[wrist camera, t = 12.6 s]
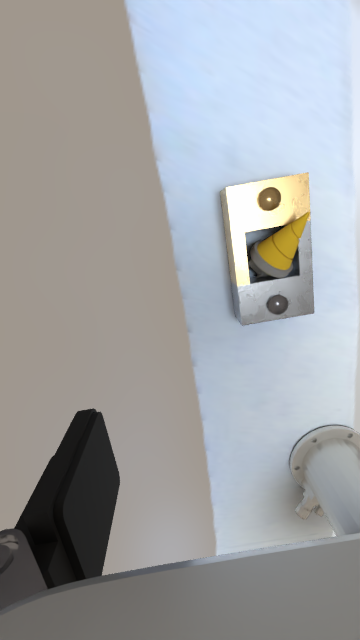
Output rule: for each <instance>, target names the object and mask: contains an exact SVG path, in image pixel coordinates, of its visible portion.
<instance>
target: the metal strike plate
mask: <svg viewBox="0 0 360 640" xmlns="http://www.w3.org/2000/svg"><path fill="white" fill-rule="evenodd" d="M220 195H221V203H222V211H223V220H224V228H225V236H226V244H227V253H228V261H229V269H230V277H231V285H232V294H233V302H234V310H235V317H236V318H237V320H238V321H239V322H240V324H241V325H242V326H243V325H249V324H255V323H260V322H266V321H272V320H278V319H284V318H289V317H295V316H301V315H307V314H313V313H314V295H313V271H312V246H311V222H310V214H309V217H308V218H307V223H306V225H305V228H304V231H303V233H302V236H301V239H300V238H299V244H298V247H297V249H296V252H295V255H294V258H293V260H292V264H293V269H292V270H291V271H290V272H289V274H288V275H287V276H286V277H283V278H277V277H274V276H265V277H258V278H256V277H257V276H256V277H250V278H249V270H248V260H247V251H246V241H245V232H249V231H254V230H260V229H266V228H271V227H277V226H283V225H284V227H285V226H287V225H288V224H290V223H292V222H293V221H295V220H296V219H298V218H299V217H301V216H302V215H304V214H305V213H307V212H309V211H310V198H309V174H308V173H303V174H297V175H292V176H286V177H280V178H275V179H269V180H264V181H258V182H253V183H247V184H242V185H236V186H231V187H226V188H224V189H223V190H222V191H221V192H220Z"/></svg>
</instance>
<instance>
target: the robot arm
mask: <svg viewBox="0 0 360 640" xmlns="http://www.w3.org/2000/svg"><path fill="white" fill-rule="evenodd" d="M290 469H291V473H292V475H293V477H294V479H295V480H296V482H297V483H298V484H299V485H300V486H301V487H302V488H303V489H305V491H304V493H303V495H304V498H303V500H302V501H300V503H299V504H298V506H297V507H296V509H295V511H296V513H297V515H298V516H299V517H300V518H302V519H307V517H308V516H309V514H310V513H311V511H312V508H313V507H314V506H316V507H315V509H314V511H315V513H316V514H317V515H319V516H323V514H325V516H326V517H327V519H328V521H329V523H330V525H331V527H332V528H333V530H334V532H335V534H336V536H337V537H331V538H324V539H318V540H312V541H305V542H299V543H293V544H286V545H280V546H274V547H268V548H261V549H255V550H249V551H243V552H237V553H231V554H225V555H218V556H213V557H206V558H200V559H194V560H188V561H182V562H176V563H170V564H164V565H158V566H152V567H147V568H142V569H136V570H130V571H125V572H120V573H114V574H109V575H104V576H102V570H103V566H104V560H105V556H106V551H107V546H108V540H109V535H110V530H111V525H112V520H113V515H114V510H115V505H116V500H117V495H118V490H119V485H120V477H119V471H118V468H117V465H116V461H115V457H114V454H113V451H112V447H111V443H110V440H109V436H108V433H107V429H106V426H105V422H104V419H103V416H102V413H101V412H96V410H95V409H88V410H82V411H78V412H77V413H76V415H75V416H74V418H73V420H72V422H71V424H70V426H69V428H68V430H67V432H66V434H65V436H64V438H63V440H62V442H61V444H60V446H59V448H58V449H57V451H56V453H55V455H54V456H53V457H52V458H51V459H50V461H49V463H48V465H47V467H46V469H45V471H44V472H43V475H42V476H41V478H40V480H39V482H38V484H37V486H36V488H35V490H34V492H33V494H32V495H31V497H30V499H29V501H28V503H27V505H26V507H25V509H24V511H23V513H22V515H21V516H20V518H19V521H18V522H17V524H16V526H15V528H14V529H5V530H2V531H0V640H360V434H359V433H358V432H356V431H355V430H353V429H351V428H348V427H344V426H326V427H322V428H319V429H316V430H314V431H312V432H310V433H309V434H307V435H306V436H304V437H303V438H302V439H301V440H300V441H299V442H298V443H297V445H296V446H295V448H294V450H293V452H292V454H291V458H290Z"/></svg>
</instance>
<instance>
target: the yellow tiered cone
mask: <svg viewBox="0 0 360 640" xmlns="http://www.w3.org/2000/svg"><path fill="white" fill-rule="evenodd" d="M309 214H310V211H309V212H307V213H305V214H304V215H302V216H301V217H299V218H298V219H296V220H295V221H293V222H292V223H290V224H288V225H287V226H285V227H284V228H282V229H281V230H279V231H278V232H276V233H275V234H273V235H272V236H270V237H268V238H267V239H265V240H264V241H257V242H256V243H255V244H254V246H253V247H252V248H251V250H250V256H251V260H250V261H249V262H248V265H249V266H250V267H251V268H252V269H253V270H254V271H255V272H256V273H257V274H258V275H257V277H256V278H258V277H265V276H274V277H277V278H283V277H286V276H287V275H288V274H289V272H290V271H291V270H292V269H293V264H292V260H293V258H294V255H295V252H296V249H297V247H298V244H299V238H300V239H301V236H302V233H303V231H304V228H305V225H306V223H307V218H308V217H309Z"/></svg>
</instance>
